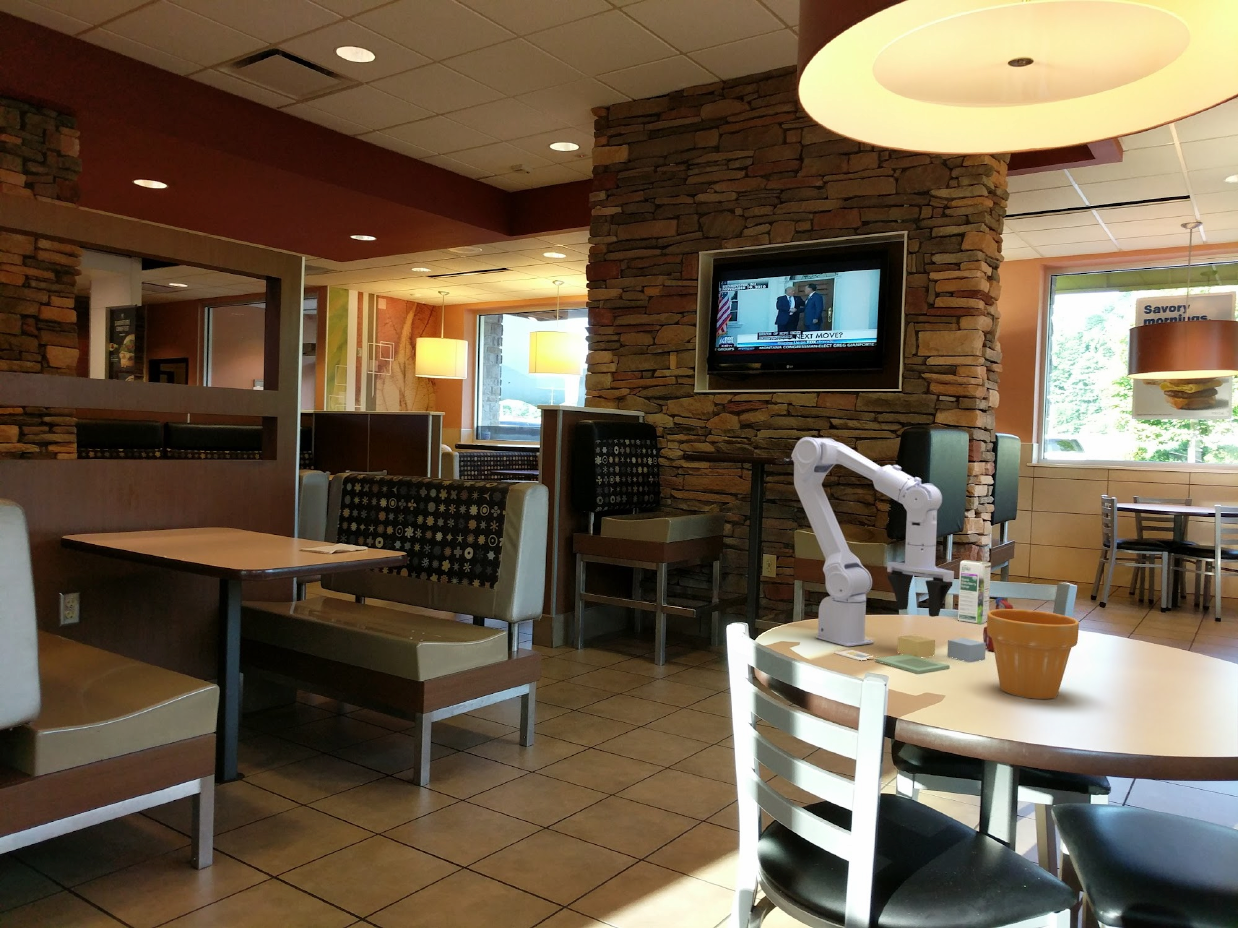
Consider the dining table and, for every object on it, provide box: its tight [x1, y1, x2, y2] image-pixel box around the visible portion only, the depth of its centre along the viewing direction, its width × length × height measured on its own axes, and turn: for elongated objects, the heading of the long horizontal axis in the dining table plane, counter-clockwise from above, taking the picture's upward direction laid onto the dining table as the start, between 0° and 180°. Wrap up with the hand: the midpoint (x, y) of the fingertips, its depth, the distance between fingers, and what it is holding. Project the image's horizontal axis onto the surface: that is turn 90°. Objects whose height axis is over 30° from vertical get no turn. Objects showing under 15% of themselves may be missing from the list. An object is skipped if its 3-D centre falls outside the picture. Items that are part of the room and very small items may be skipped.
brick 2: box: [946, 637, 987, 663], centre depth 176 cm, size 5×5×4 cm
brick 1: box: [896, 634, 936, 658], centre depth 178 cm, size 5×5×4 cm
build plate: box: [874, 654, 951, 675], centre depth 169 cm, size 10×9×1 cm
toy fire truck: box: [982, 596, 1014, 652], centre depth 186 cm, size 7×12×10 cm, turn 165°
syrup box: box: [957, 559, 992, 625], centre depth 216 cm, size 6×6×14 cm
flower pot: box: [986, 608, 1080, 700], centre depth 152 cm, size 14×14×13 cm
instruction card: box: [834, 649, 874, 662], centre depth 175 cm, size 7×5×1 cm
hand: (917, 612), depth 178 cm, fingers open, 7 cm apart
